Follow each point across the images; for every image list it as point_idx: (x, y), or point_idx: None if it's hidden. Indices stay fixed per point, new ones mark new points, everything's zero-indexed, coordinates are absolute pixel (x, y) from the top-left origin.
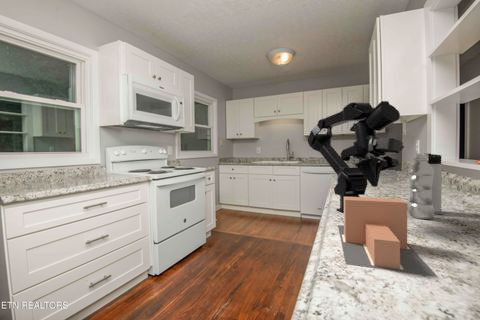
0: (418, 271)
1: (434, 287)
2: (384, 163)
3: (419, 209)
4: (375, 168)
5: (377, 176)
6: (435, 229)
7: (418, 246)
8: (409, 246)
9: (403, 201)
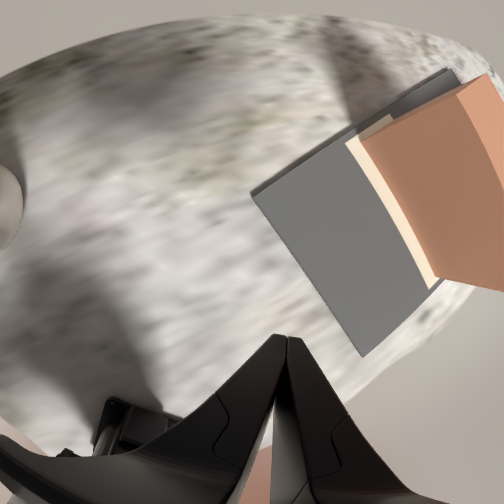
0: None
1: (467, 76)
2: (77, 489)
3: (6, 194)
4: (310, 474)
5: (270, 386)
6: (105, 118)
7: (337, 105)
8: (374, 118)
9: (483, 83)
